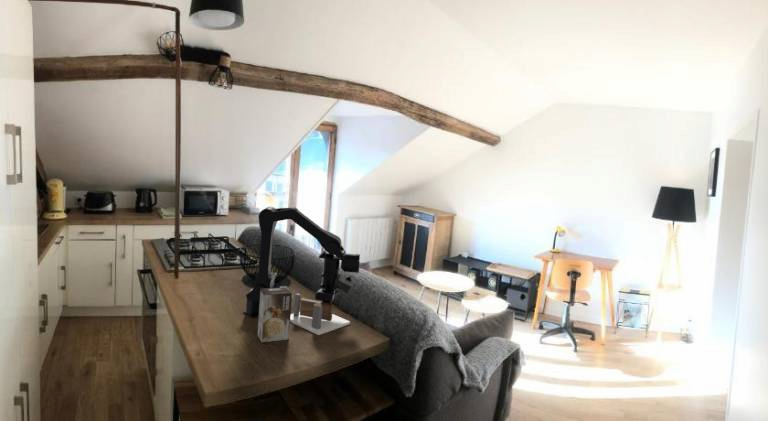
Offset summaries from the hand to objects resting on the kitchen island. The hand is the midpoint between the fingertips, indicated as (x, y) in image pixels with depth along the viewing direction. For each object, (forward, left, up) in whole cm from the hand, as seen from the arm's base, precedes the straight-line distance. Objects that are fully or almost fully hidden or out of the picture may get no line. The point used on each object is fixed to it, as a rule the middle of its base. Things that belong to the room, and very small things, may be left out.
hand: (327, 310), depth 169 cm
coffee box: (-25, 0, -4) cm, 25 cm away
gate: (-4, +2, -2) cm, 5 cm away
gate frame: (-4, +1, -4) cm, 5 cm away
